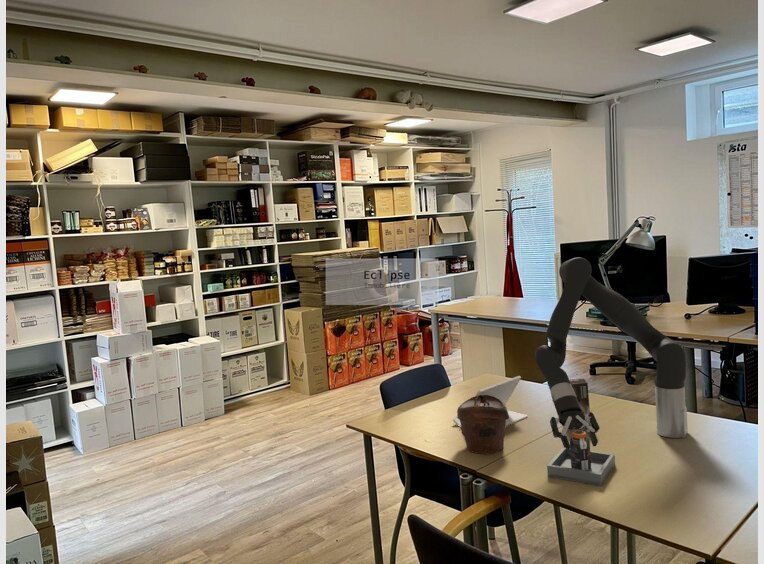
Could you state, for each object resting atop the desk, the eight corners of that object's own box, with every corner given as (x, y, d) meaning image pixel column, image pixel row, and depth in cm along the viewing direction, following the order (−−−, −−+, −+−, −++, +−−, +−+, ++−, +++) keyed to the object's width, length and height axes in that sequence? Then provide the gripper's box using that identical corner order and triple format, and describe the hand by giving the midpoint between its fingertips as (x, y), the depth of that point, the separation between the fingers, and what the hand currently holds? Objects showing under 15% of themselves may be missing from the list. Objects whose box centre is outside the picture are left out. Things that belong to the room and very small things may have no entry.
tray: (615, 464, 181) (614, 454, 181) (601, 486, 168) (600, 474, 168) (564, 456, 191) (563, 446, 190) (547, 476, 178) (547, 465, 177)
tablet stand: (528, 417, 231) (525, 376, 230) (487, 435, 216) (483, 391, 214) (493, 408, 246) (490, 369, 244) (452, 425, 230) (449, 384, 229)
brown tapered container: (491, 432, 218) (487, 386, 216) (522, 450, 199) (518, 400, 197) (449, 443, 212) (445, 396, 210) (477, 462, 193) (472, 411, 191)
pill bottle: (592, 471, 176) (590, 435, 175) (572, 471, 177) (570, 435, 176) (589, 463, 182) (587, 428, 181) (570, 463, 183) (567, 428, 182)
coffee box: (586, 418, 223) (584, 378, 222) (591, 424, 217) (588, 382, 216) (562, 419, 224) (560, 379, 223) (566, 425, 218) (563, 384, 217)
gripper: (546, 396, 184) (562, 444, 174) (589, 391, 185) (607, 439, 175) (541, 408, 190) (556, 454, 180) (583, 403, 191) (600, 449, 181)
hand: (582, 447), depth 177 cm, fingers open, 8 cm apart
